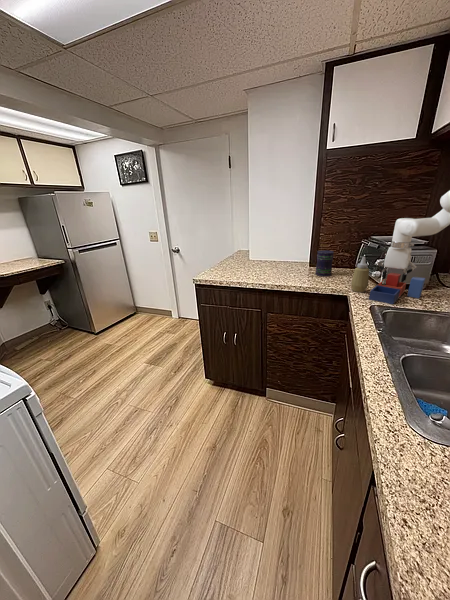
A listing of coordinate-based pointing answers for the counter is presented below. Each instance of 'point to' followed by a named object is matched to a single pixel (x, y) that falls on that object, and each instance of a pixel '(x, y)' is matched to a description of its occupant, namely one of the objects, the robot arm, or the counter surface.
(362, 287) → the squeeze bottle
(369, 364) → the counter surface
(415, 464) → the counter surface
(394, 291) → the blue bin
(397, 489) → the counter surface
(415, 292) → the blue block
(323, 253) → the storage jar
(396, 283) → the red block
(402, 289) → the red bin
